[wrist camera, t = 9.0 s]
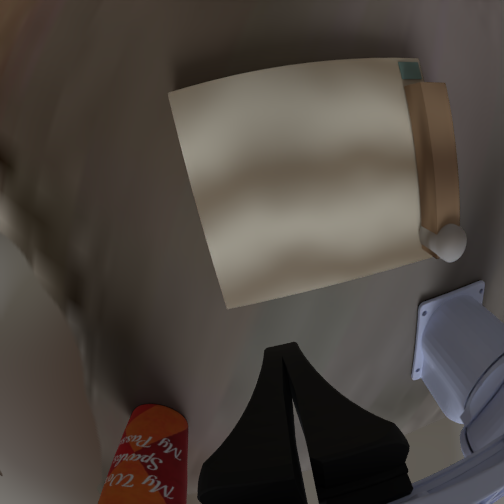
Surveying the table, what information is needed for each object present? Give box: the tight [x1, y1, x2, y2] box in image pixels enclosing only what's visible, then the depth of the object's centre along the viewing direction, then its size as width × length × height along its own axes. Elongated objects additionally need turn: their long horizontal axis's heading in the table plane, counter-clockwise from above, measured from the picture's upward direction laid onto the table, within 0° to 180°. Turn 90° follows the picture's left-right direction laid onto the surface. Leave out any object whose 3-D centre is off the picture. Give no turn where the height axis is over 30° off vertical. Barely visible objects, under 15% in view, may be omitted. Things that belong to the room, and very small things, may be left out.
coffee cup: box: [98, 404, 188, 504], centre depth 20 cm, size 8×8×15 cm
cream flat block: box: [168, 58, 433, 309], centre depth 18 cm, size 14×16×2 cm
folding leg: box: [404, 82, 467, 262], centre depth 16 cm, size 11×2×3 cm, turn 12°
